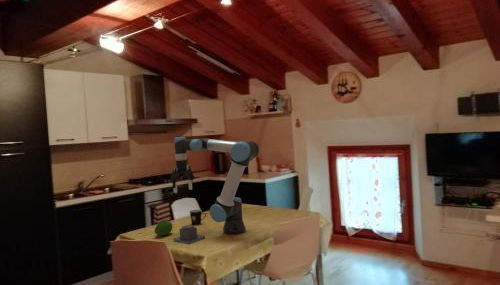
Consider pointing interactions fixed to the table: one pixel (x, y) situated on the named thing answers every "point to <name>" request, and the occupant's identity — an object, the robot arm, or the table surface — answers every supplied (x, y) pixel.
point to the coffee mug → (196, 217)
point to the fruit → (163, 227)
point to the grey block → (188, 232)
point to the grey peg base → (199, 237)
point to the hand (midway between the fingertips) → (183, 191)
